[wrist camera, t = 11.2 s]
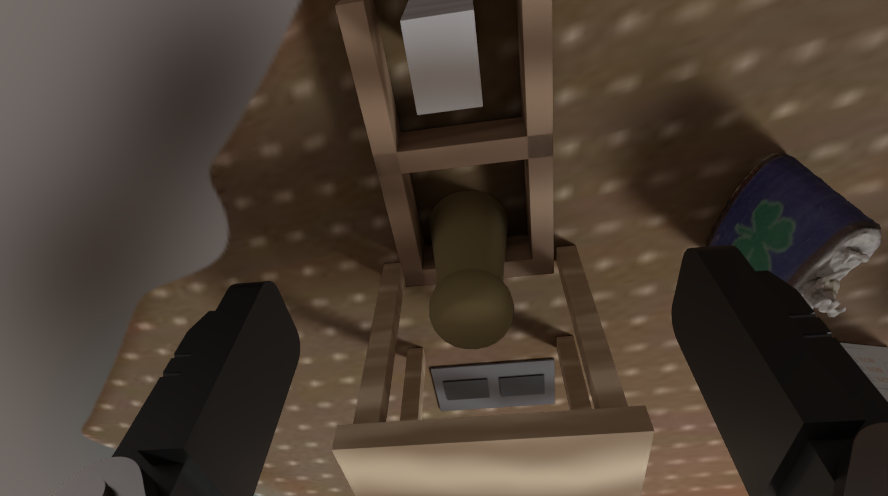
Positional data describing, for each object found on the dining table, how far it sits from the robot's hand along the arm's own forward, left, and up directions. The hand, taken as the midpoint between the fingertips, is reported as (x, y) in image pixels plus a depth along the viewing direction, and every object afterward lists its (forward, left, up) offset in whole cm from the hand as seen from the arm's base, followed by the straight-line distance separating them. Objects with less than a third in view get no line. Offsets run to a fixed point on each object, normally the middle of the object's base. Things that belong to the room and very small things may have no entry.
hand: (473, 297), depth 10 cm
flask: (+15, +19, -24) cm, 34 cm away
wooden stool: (+27, -1, -23) cm, 36 cm away
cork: (+14, -1, -24) cm, 28 cm away
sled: (+7, -1, -23) cm, 24 cm away
